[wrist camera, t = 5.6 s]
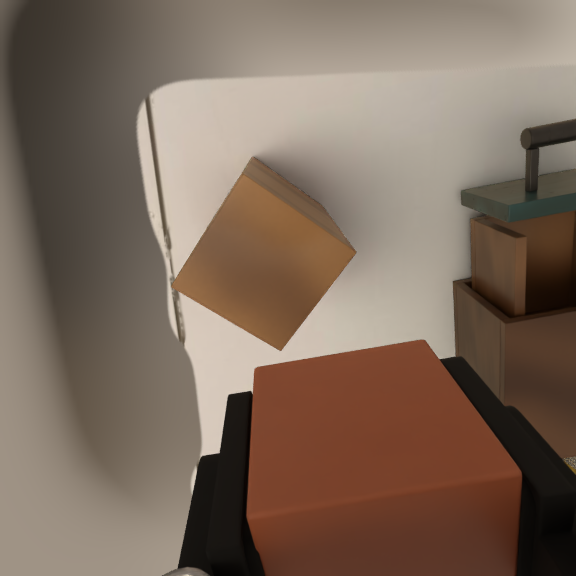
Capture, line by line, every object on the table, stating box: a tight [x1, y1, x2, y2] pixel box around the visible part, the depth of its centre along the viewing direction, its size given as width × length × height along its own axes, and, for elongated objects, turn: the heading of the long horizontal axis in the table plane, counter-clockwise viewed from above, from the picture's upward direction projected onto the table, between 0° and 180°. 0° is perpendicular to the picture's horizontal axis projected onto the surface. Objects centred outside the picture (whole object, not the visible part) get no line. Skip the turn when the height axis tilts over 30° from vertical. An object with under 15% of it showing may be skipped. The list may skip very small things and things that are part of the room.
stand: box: [171, 157, 356, 351], centre depth 28 cm, size 7×7×14 cm
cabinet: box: [453, 278, 576, 459], centre depth 36 cm, size 13×11×9 cm
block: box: [246, 340, 522, 576], centre depth 8 cm, size 4×4×4 cm
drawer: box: [461, 119, 576, 319], centre depth 32 cm, size 17×10×7 cm, turn 10°
